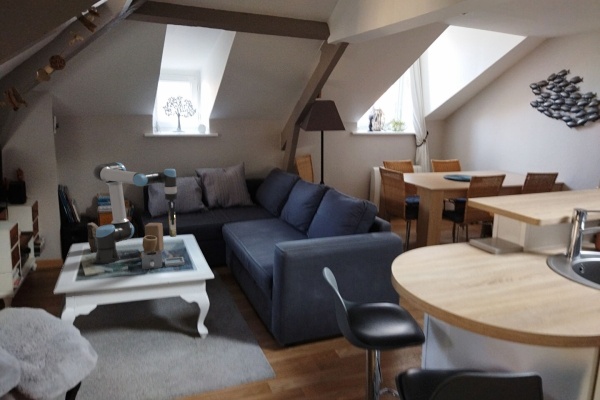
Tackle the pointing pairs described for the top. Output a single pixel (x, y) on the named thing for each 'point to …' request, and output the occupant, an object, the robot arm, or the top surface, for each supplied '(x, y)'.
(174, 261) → the tray
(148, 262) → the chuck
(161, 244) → the wooden block
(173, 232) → the cylindrical container
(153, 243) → the stone cup
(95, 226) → the owl
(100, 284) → the top surface
